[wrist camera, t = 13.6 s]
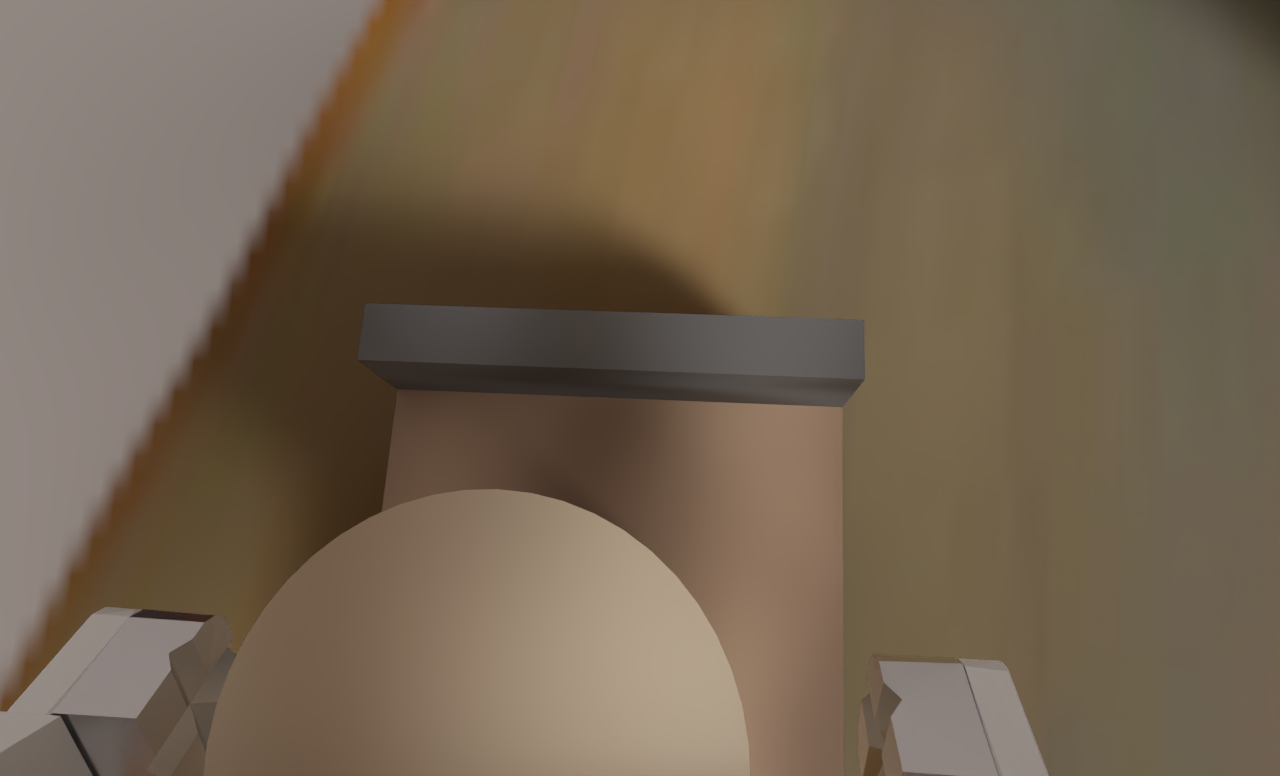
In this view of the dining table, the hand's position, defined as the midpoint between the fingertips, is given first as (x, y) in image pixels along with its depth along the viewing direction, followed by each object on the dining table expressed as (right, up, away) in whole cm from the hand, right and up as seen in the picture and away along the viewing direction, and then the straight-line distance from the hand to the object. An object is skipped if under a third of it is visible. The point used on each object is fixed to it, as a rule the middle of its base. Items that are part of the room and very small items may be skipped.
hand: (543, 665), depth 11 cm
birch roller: (0, -2, +7) cm, 7 cm away
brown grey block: (+1, -2, +11) cm, 11 cm away
